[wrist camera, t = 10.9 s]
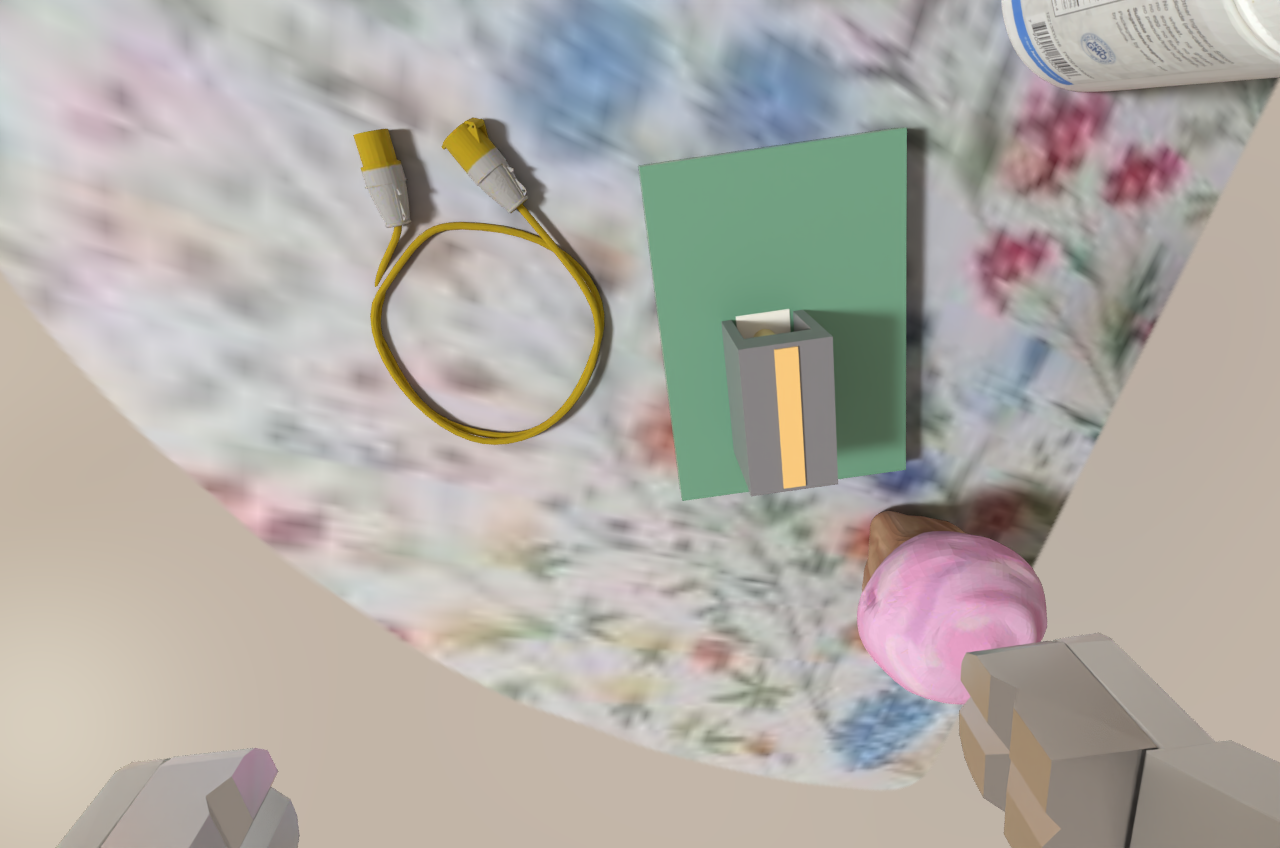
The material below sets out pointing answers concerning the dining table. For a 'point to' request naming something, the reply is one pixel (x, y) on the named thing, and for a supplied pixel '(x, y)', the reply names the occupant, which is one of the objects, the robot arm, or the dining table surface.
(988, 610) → the cupcake
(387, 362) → the extension cord
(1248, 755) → the robot arm
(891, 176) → the header board
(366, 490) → the dining table surface
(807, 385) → the box
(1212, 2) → the supplement tub
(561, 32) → the dining table surface
